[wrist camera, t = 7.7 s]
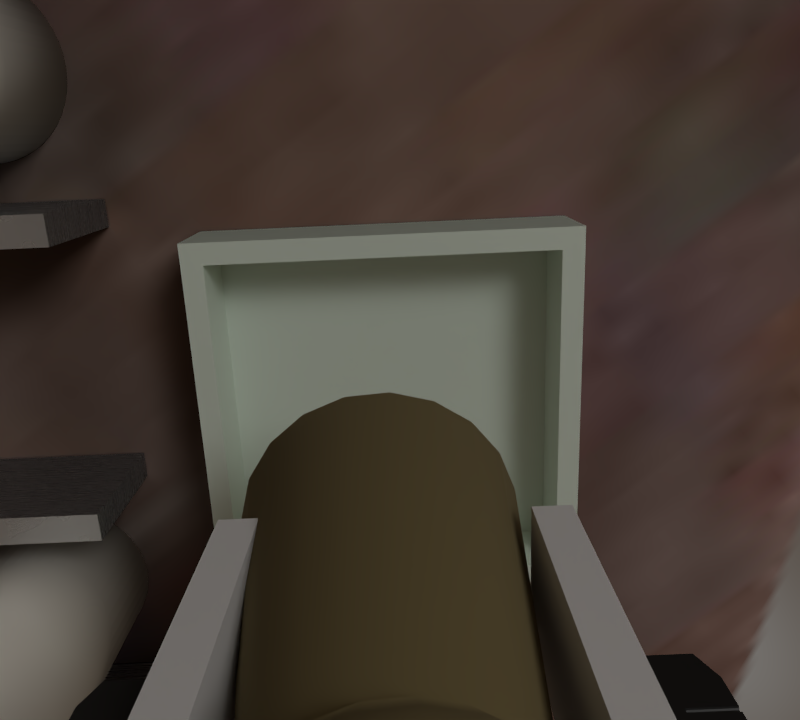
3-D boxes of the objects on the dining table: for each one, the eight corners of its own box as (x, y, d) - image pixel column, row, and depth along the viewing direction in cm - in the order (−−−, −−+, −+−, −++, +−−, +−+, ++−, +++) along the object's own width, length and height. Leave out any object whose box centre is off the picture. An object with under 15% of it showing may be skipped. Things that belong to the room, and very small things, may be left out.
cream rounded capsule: (-16, 513, 24) (-234, 720, 16) (137, 506, 24) (1, 709, 16) (14, 641, 26) (-172, 895, 17) (158, 635, 26) (43, 885, 17)
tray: (200, 231, 22) (177, 244, 19) (564, 215, 22) (586, 225, 19) (238, 552, 25) (222, 596, 23) (557, 538, 25) (574, 580, 23)
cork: (562, 447, 16) (955, 1028, 6) (453, 670, 18) (600, 1468, 7) (296, 351, 15) (160, 830, 5) (205, 595, 17) (-58, 1383, 6)
